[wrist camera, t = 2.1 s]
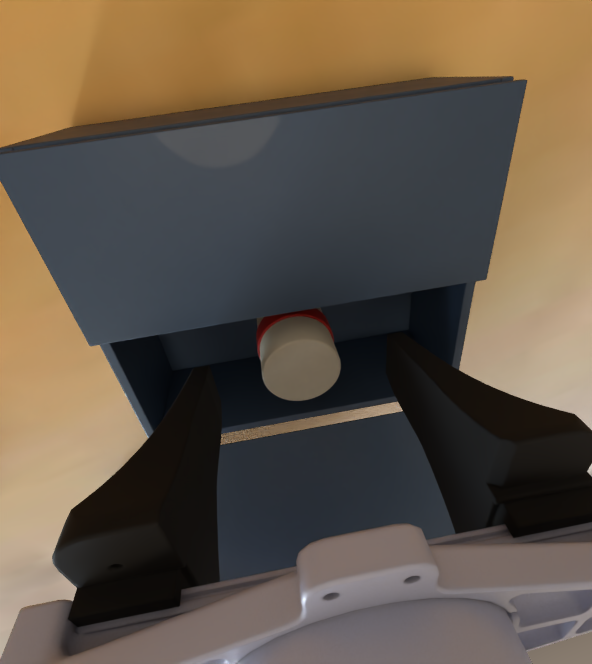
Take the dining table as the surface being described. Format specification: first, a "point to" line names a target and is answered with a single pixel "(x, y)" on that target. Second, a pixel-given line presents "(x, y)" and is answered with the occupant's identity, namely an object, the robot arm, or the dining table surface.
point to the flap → (321, 490)
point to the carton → (272, 233)
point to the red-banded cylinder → (297, 354)
